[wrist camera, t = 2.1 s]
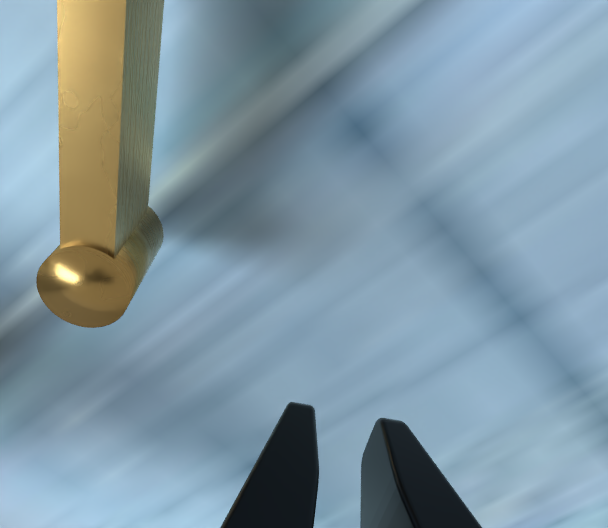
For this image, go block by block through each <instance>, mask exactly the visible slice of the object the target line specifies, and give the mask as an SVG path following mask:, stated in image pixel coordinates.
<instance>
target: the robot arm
mask: <svg viewBox="0 0 608 528" xmlns="http://www.w3.org/2000/svg"><path fill="white" fill-rule="evenodd" d="M318 479H319V461H318V447H317V433H316V419H315V410H314V408H313V406H311V405H306V404H301V403H295V402H290V403H289V404H288V405H287V406H286V408H285V410H284V412H283V414H282V416H281V417H280V419H279V421H278V423H277V425H276V427H275V428H274V430H273V432H272V434H271V436H270V438H269V439H268V441H267V443H266V445H265V447H264V449H263V450H262V452H261V454H260V456H259V458H258V460H257V461H256V463H255V465H254V467H253V469H252V471H251V472H250V474H249V476H248V478H247V480H246V482H245V483H244V485H243V487H242V489H241V491H240V493H239V494H238V496H237V498H236V500H235V502H234V504H233V505H232V507H231V509H230V511H229V513H228V515H227V516H226V518H225V520H224V522H223V524H222V526H221V527H220V528H313V526H314V517H315V508H316V499H317V490H318ZM360 528H482V527H481V526H480V524H479V523H478V522H477V520H476V519H475V517H474V516H473V515H472V513H471V512H470V511H469V509H468V508H467V507H466V505H465V504H464V502H463V501H462V500H461V498H460V497H459V496H458V494H457V493H456V492H455V490H454V489H453V487H452V486H451V485H450V483H449V482H448V481H447V479H446V478H445V477H444V475H443V474H442V472H441V471H440V470H439V468H438V467H437V466H436V464H435V463H434V462H433V460H432V459H431V457H430V456H429V455H428V453H427V452H426V451H425V449H424V448H423V447H422V445H421V444H420V443H419V441H418V440H417V438H416V437H415V436H414V434H413V433H412V432H411V430H410V429H409V428H408V426H407V425H406V424H405V423H404V422H402V421H398V420H392V419H387V418H380V419H378V420H377V421H376V423H375V425H374V428H373V430H372V433H371V435H370V438H369V440H368V443H367V445H366V447H365V450H364V453H363V457H362V464H361V525H360Z"/></svg>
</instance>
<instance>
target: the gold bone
mask: <svg viewBox="0 0 608 528" xmlns="http://www.w3.org/2000/svg"><path fill="white" fill-rule="evenodd" d="M163 8H164V0H57V24H58V105H59V186H60V245H59V246H58V247H57V248H56V249H55V251H54V252H53V253H52V254H51V255H50V256H49V257H48V258H47V259H46V260H45V261H44V262H43V264H42V265H41V266H40V268H39V271H38V273H37V289H38V292H39V295H40V297H41V299H42V300H43V302H44V303H45V305H46V306H47V307H48V308H49V309H50V310H51V311H52V312H53V313H54V314H55V315H57V316H58V317H59V318H61V319H63V320H65V321H67V322H69V323H71V324H74V325H77V326H82V327H90V328H95V327H103V326H106V325H109V324H111V323H113V322H115V321H117V320H118V319H119V318H120V317H121V316H122V315H123V314H124V312H125V310H126V309H127V307H128V305H129V303H130V301H131V300H132V298H133V296H134V294H135V292H136V291H137V289H138V287H139V285H140V283H141V282H142V280H143V278H144V276H145V274H146V273H147V271H148V269H149V267H150V265H151V263H152V262H153V260H154V258H155V256H156V254H157V253H158V251H159V249H160V247H161V245H162V242H163V228H162V224H161V222H160V220H159V218H158V216H157V215H156V214H155V212H154V211H153V210H152V209H151V208H150V207H149V206H148V200H149V187H150V174H151V161H152V148H153V136H154V123H155V110H156V97H157V84H158V72H159V59H160V46H161V33H162V20H163Z"/></svg>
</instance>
